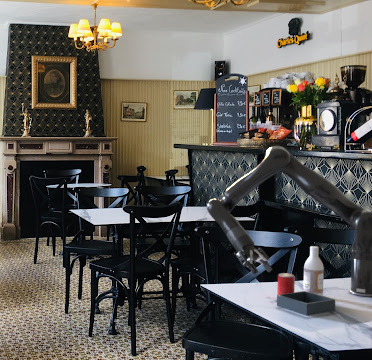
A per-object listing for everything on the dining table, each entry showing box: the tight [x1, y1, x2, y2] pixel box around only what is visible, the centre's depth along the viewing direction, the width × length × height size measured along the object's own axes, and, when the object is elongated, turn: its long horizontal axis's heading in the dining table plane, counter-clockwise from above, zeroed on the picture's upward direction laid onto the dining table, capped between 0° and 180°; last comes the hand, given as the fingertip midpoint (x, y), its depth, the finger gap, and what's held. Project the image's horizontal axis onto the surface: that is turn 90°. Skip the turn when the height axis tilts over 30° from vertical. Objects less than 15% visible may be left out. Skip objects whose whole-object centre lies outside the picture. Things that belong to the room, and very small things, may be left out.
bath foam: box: [303, 245, 325, 296], centre depth 230 cm, size 7×7×20 cm
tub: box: [276, 290, 336, 316], centre depth 213 cm, size 14×14×5 cm
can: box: [276, 272, 296, 296], centre depth 225 cm, size 6×6×10 cm
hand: (263, 272), depth 233 cm, fingers open, 8 cm apart
